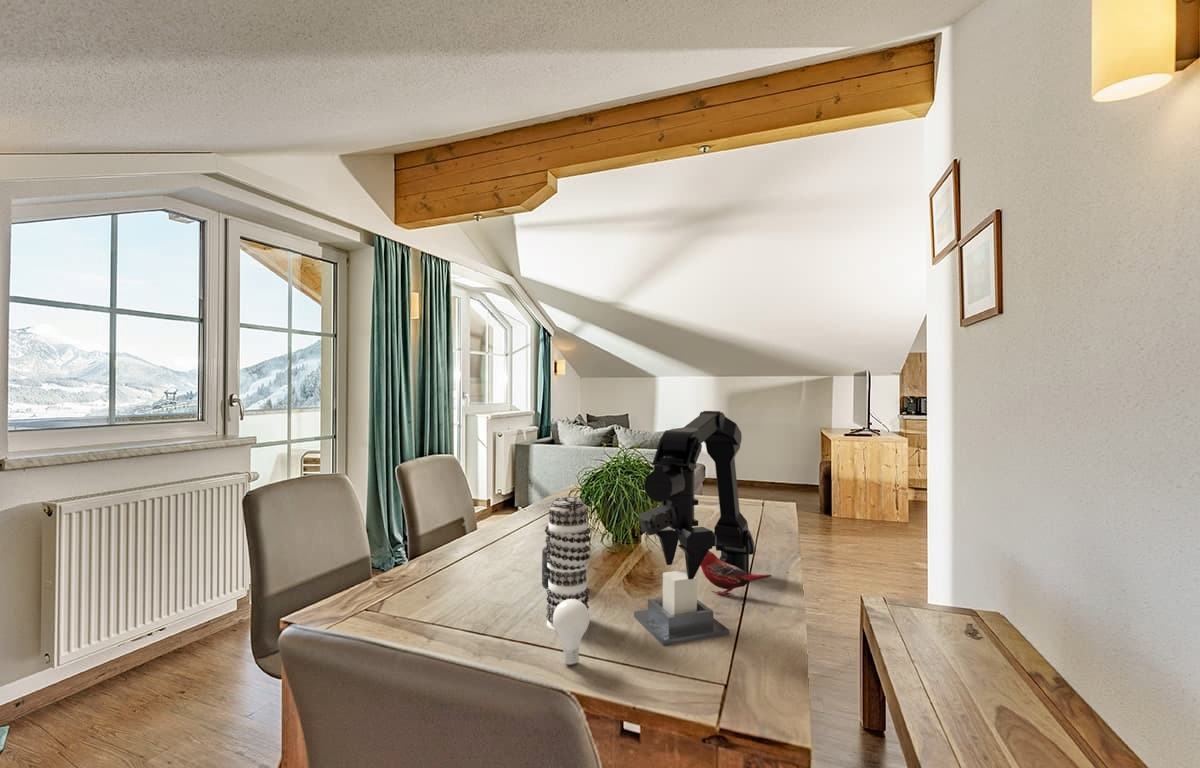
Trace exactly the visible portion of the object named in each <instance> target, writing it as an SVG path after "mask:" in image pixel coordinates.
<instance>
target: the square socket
mask: <svg viewBox="0 0 1200 768" xmlns="http://www.w3.org/2000/svg"><path fill="white" fill-rule="evenodd" d="M633 618H635V619H636V620H637V621H638V622H639V623H640V624H641V625H642V626H643V627H644V628H645V629H646V630H647V631H648V632H649V633H650V634H651V635H652V636H653V637H654V638H655V639H656V640H657V641H658V642H659V643H660V645H662V646H671V645H677V644H682V643H687V642H694V641H700V640H708V639H713V638H719V637H726V636H730V629H729V628H728V627H726V626H725V625H724V624H722V623H721V622H720V621H719V620H717V619H715V617H714V611H713V610H712V609H711V608H709V606H707V605H706V604H704V603H703V602H702V601H700V600H698V599H697V611H696V612H689V613H682V614H675V615H671V614H669V613H668V612H667V611H666V610H665V609H664V608H663V597H657V598H656V597H655V598H652V599H651V598H650V599H647V609H642V610H635V611H633Z"/></svg>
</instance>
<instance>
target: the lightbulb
mask: <svg viewBox="0 0 1200 768" xmlns="http://www.w3.org/2000/svg"><path fill="white" fill-rule="evenodd" d="M590 617H591V616H590V612H589V608H588V609H587V607H586V606H585V605H584V603H582V602H581V601H579V600H577V599H566V600H564V601H562V602H561V603H559V604H558V606H557V607H556V608H555V610H554V613H553V625H554V628H555V630H556V631H555V632H556V633H557V635H559V638H560V641H561V646H562V647H563V649H562V650H563V652H562V654H563V657H562V658H563V660H562V661H563V663H564V664H566V665H568V666H574V665H576V664H577V663H579V661H580V660H579V659H580V646H581V643H582V638H583V636H584V634H585V633H586V631H587V630H588V628H589V626H590V621H591V618H590Z"/></svg>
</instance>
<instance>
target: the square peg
mask: <svg viewBox="0 0 1200 768" xmlns="http://www.w3.org/2000/svg"><path fill="white" fill-rule="evenodd" d="M662 598H663V608H664V609H665V610H666V611H667V612H668V613H669V614H671V615H675V614H682V613H689V612H696V611H697V600H698V577H696V576H695V577H694V579H690V580H689V579H688V577H687V570H685V569H682V570H674V571H667V572H662Z"/></svg>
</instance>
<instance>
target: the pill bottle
mask: <svg viewBox="0 0 1200 768" xmlns="http://www.w3.org/2000/svg"><path fill="white" fill-rule="evenodd" d="M545 544H546V545H547V543H546V542H545ZM541 552H542V557H541V559H542V561H541V585H542V587H543V588H545V589H548V581H549V568H548V567H547V563H548V561H547V560H546V557H547V554H548V553H547V550H546V546H544V547H543V548H542V551H541Z"/></svg>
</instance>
